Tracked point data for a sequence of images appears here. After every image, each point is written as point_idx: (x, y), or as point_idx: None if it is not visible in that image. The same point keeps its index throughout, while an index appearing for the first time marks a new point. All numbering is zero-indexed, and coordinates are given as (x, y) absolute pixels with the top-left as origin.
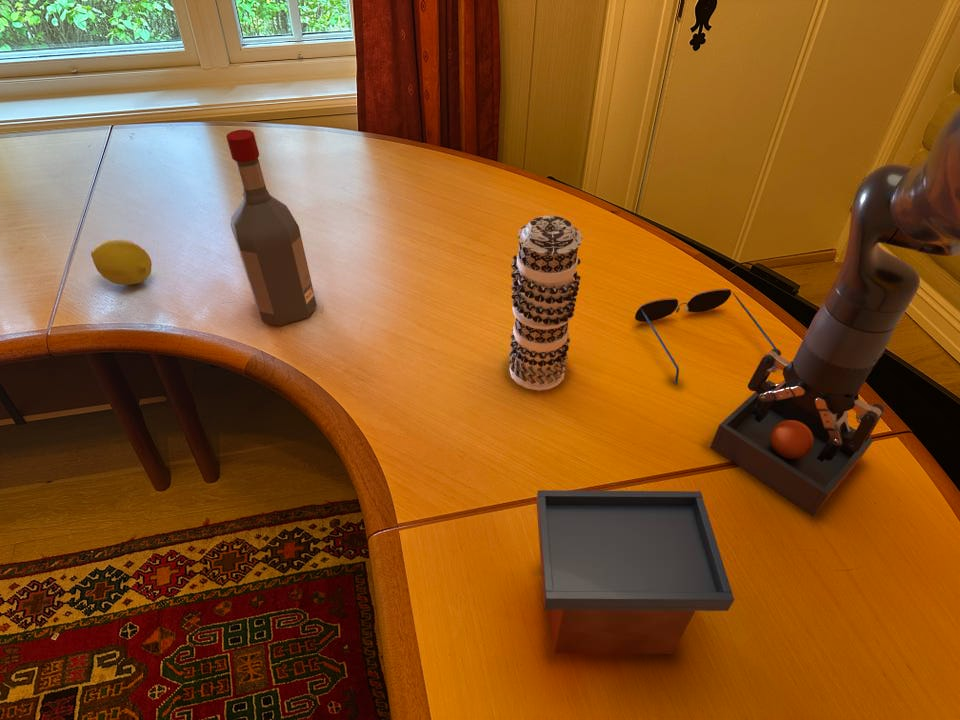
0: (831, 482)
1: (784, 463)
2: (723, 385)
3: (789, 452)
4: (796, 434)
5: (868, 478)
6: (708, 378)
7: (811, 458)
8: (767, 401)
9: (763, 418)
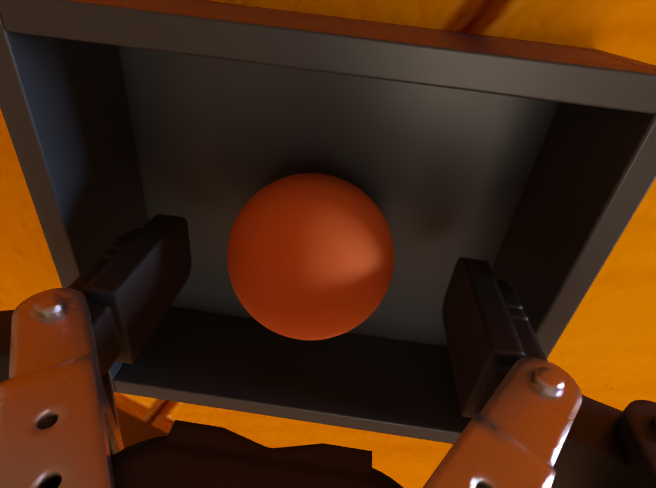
0: (18, 95)
1: (244, 46)
2: (590, 357)
3: (284, 183)
4: (286, 269)
5: None
6: (648, 359)
7: None
8: (510, 373)
9: (449, 287)
